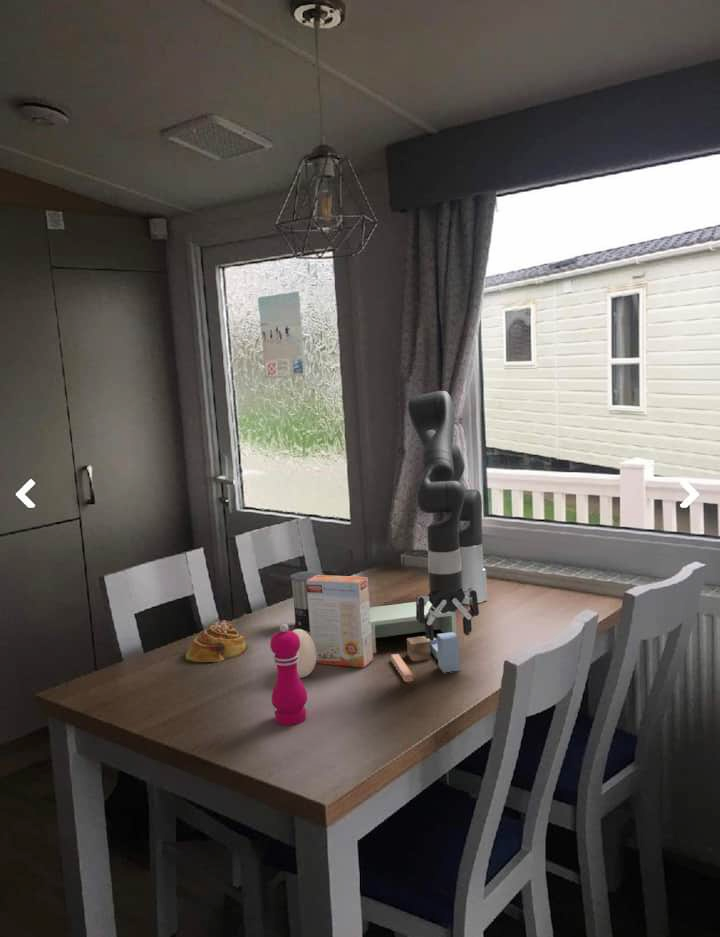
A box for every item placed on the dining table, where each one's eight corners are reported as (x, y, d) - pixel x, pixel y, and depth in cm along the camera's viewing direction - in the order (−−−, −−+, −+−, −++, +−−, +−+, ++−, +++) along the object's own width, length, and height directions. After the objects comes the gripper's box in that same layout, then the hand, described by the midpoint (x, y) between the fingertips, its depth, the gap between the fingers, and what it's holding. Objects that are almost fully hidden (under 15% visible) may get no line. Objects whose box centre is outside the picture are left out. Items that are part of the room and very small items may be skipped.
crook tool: (460, 671, 183) (458, 637, 182) (430, 675, 182) (428, 641, 181) (440, 648, 198) (438, 617, 198) (412, 652, 197) (410, 621, 196)
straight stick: (398, 661, 192) (398, 653, 192) (413, 683, 179) (412, 674, 178) (391, 662, 192) (391, 654, 192) (405, 684, 178) (404, 675, 178)
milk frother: (288, 630, 220) (284, 578, 219) (313, 613, 235) (310, 564, 233) (335, 634, 215) (331, 580, 213) (358, 616, 229) (354, 566, 227)
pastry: (256, 649, 207) (253, 619, 206) (211, 667, 196) (208, 636, 195) (222, 640, 216) (220, 612, 215) (177, 658, 205) (174, 627, 204)
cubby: (442, 627, 214) (441, 598, 213) (456, 641, 203) (455, 611, 202) (362, 638, 210) (360, 608, 209) (372, 653, 198) (370, 622, 197)
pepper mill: (273, 713, 167) (266, 620, 164) (308, 709, 167) (301, 617, 165) (272, 728, 160) (265, 631, 157) (309, 724, 160) (301, 627, 158)
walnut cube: (425, 653, 196) (424, 635, 195) (430, 659, 192) (429, 641, 191) (407, 656, 195) (406, 638, 195) (412, 662, 191) (411, 644, 190)
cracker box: (374, 660, 193) (368, 575, 191) (363, 669, 188) (358, 582, 186) (322, 654, 199) (317, 573, 197) (311, 663, 194) (305, 579, 192)
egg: (276, 680, 185) (273, 632, 183) (298, 668, 191) (294, 622, 190) (303, 685, 180) (300, 637, 179) (325, 673, 187) (321, 626, 185)
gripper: (469, 560, 187) (472, 627, 189) (410, 568, 184) (414, 635, 186) (480, 568, 179) (483, 637, 182) (419, 576, 177) (423, 646, 179)
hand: (448, 636), depth 184 cm, fingers open, 8 cm apart
